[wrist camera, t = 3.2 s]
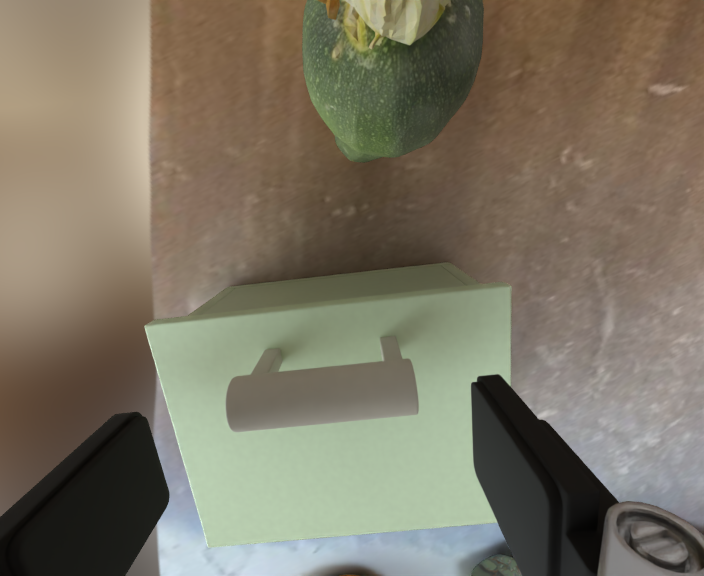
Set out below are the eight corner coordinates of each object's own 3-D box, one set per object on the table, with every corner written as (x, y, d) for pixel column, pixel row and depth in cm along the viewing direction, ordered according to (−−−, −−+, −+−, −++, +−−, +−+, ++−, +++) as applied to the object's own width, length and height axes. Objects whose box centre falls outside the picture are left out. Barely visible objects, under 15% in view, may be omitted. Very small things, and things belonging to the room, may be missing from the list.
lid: (153, 319, 15) (56, 378, 10) (504, 280, 15) (581, 323, 10) (213, 533, 18) (161, 659, 13) (504, 508, 18) (563, 629, 13)
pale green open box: (227, 286, 24) (158, 335, 16) (449, 261, 24) (503, 298, 15) (257, 427, 27) (214, 533, 18) (455, 408, 26) (504, 507, 18)
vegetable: (386, 92, 21) (806, -1236, 2) (413, 160, 22) (873, -122, 3) (321, 126, 21) (22, -554, 2) (350, 191, 22) (338, 149, 3)
